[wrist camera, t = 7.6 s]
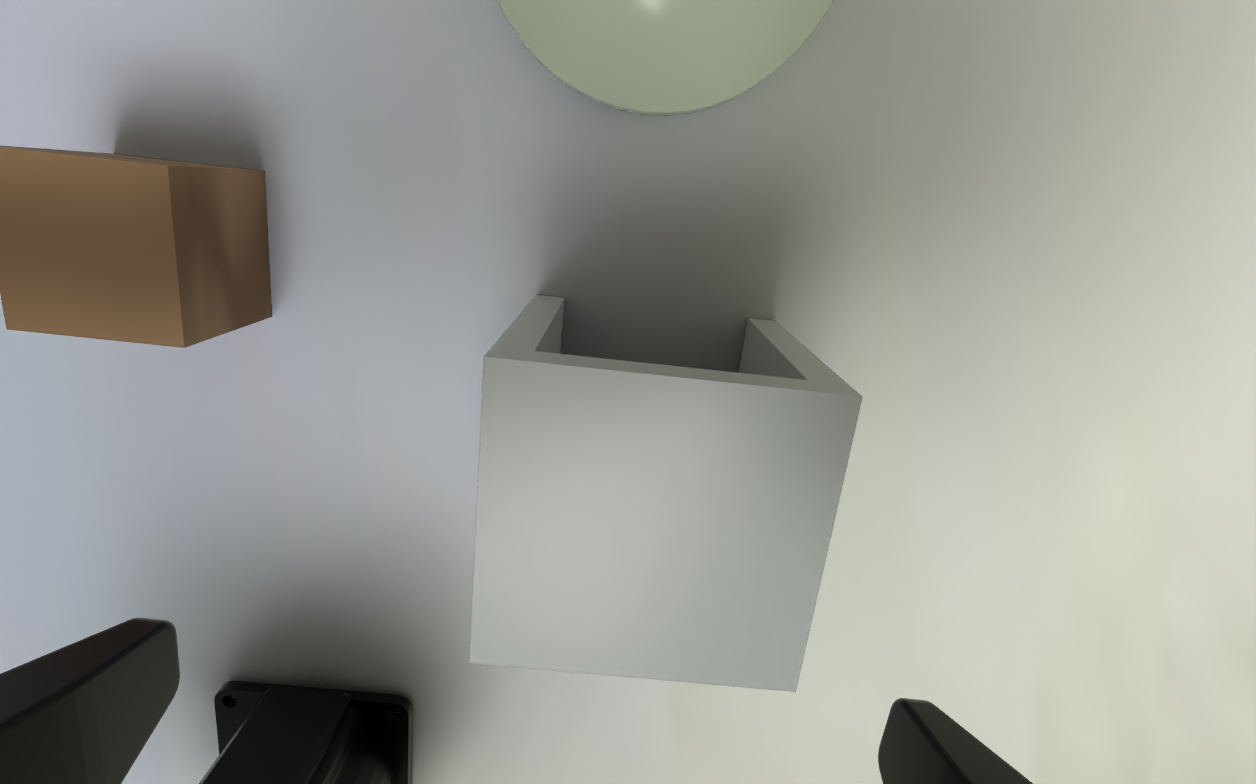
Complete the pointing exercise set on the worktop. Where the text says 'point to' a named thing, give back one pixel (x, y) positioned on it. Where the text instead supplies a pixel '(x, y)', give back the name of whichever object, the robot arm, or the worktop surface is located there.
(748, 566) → the cover
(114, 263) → the block
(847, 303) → the worktop surface
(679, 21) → the dish
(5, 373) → the worktop surface
